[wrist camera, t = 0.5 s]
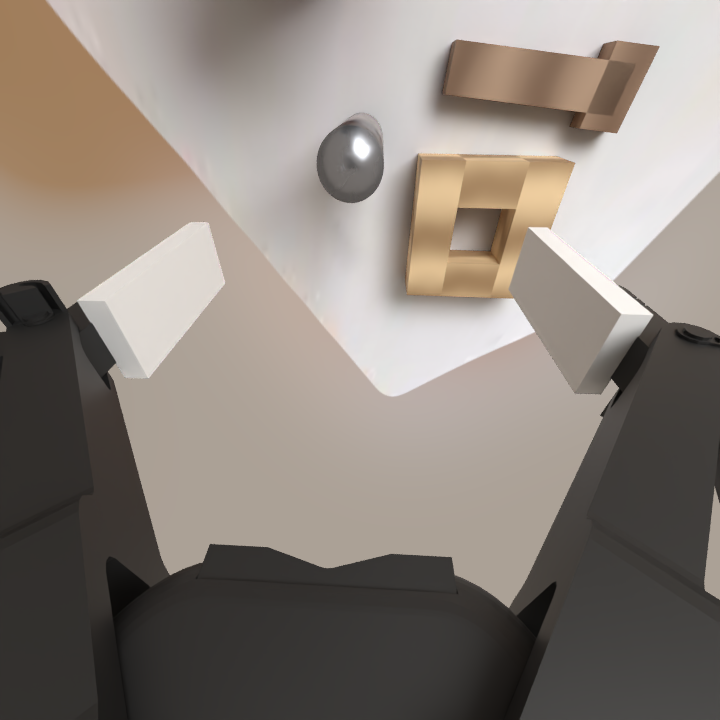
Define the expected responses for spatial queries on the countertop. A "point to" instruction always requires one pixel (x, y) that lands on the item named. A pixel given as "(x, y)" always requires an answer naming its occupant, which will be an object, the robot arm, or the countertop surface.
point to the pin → (352, 159)
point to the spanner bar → (553, 79)
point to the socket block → (478, 190)
